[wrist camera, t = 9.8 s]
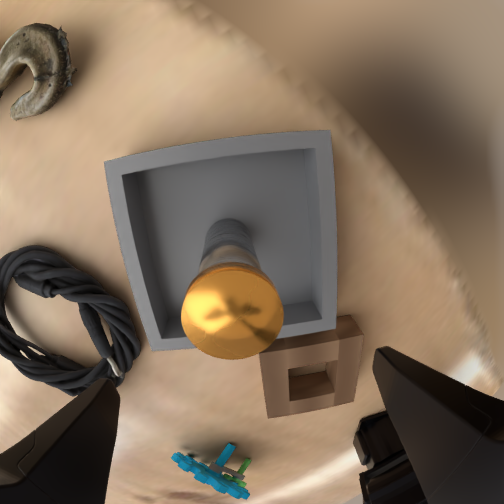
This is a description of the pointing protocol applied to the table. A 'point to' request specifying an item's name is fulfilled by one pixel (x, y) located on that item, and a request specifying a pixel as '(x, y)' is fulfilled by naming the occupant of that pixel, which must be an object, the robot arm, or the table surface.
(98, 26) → the table surface
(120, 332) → the cable
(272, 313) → the pin
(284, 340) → the block
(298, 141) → the tray
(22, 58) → the pulley block
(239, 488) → the gear
